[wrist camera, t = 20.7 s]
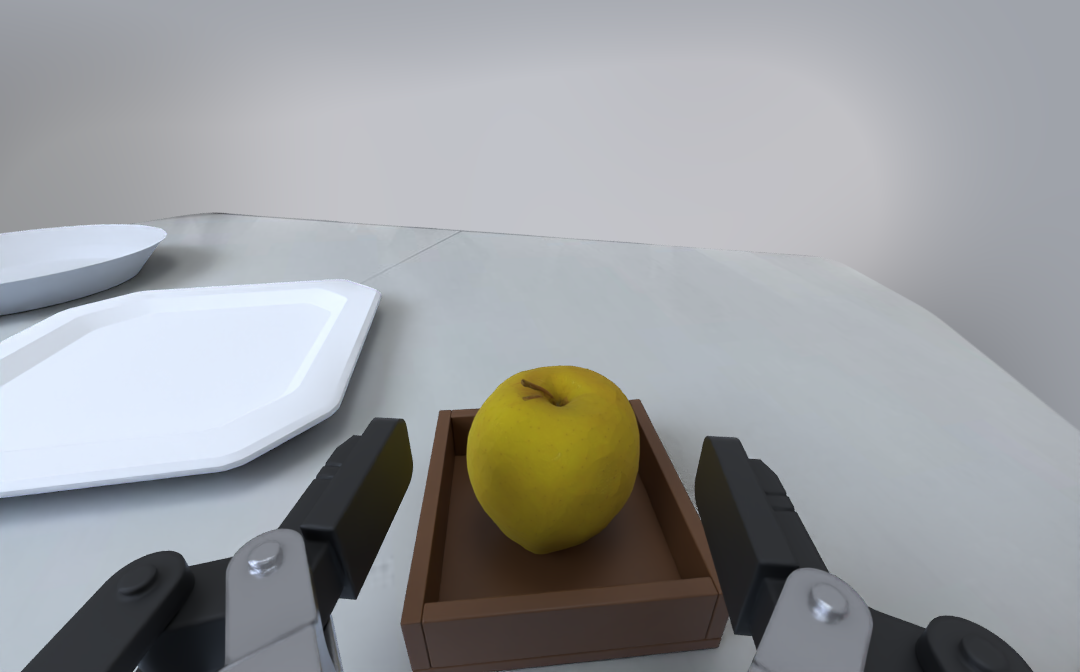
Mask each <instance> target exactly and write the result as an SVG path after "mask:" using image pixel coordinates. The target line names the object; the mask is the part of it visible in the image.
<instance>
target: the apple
mask: <svg viewBox="0 0 1080 672" xmlns="http://www.w3.org/2000/svg"><path fill="white" fill-rule="evenodd" d="M639 456H640V434H639V430H638V426H637V421H636V417H635V414H634V411H633V409H632V407H631V405H630V403H629V401H628V399H627V397H626V396H625V395H624V394H623V392H622V391H621V390H620V388H619V387H617V386H616V385H615V384H614V383H613V382H612V381H610V380H609V379H607V378H606V377H604V376H602V375H601V374H599V373H596V372H594V371H592V370H589V369H584V368H581V367H575V366H550V367H540V368H536V369H531V370H527V371H522V372H520V373H517V374H515V375H513V376H511V377H510V378H508V379H507V380H506V381H504V382H503V383H502V384H500V385H499V386H498V387H497V389H496V390H495V391H494V392H493V393H492V394H491V395H490V396H489V398H488V399H487V400H486V401H485V402H484V404H483V405H482V407H481V408H480V410H479V411H478V412H477V414H476V416H475V418H474V420H473V422H472V426H471V429H470V431H469V435H468V442H467V469H468V474H469V478H470V481H471V484H472V487H473V490H474V493H475V495H476V497H477V499H478V501H479V503H480V504H481V506H482V507H483V509H484V511H485V512H486V513H487V514H488V515H489V517H490V518H491V519H492V520H493V521H494V523H496V524H497V526H498V527H499V529H500V530H501V531H502V532H503V533H504V534H505V535H506V536H507V537H508V538H510V539H511V540H513V541H515V542H516V543H518V544H519V545H521V546H522V547H524V548H525V549H526V550H528V551H531V552H532V553H534V554H548V553H551V552H555V551H559V550H563V549H566V548H569V547H573V546H576V545H579V544H581V543H584V542H585V541H587V540H588V539H590V538H592V537H594V536H595V535H597V534H598V533H600V532H601V531H602V530H603V529H604V528H606V527H607V525H608V524H609V523H610V522H611V520H612V519H613V518H614V517H615V516H616V515H617V514H618V513H619V512H620V511H621V509H622V508H623V506H624V505H625V504H626V502H627V500H628V498H629V497H630V494H631V492H632V490H633V487H634V483H635V480H636V476H637V472H638V468H639Z"/></svg>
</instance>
